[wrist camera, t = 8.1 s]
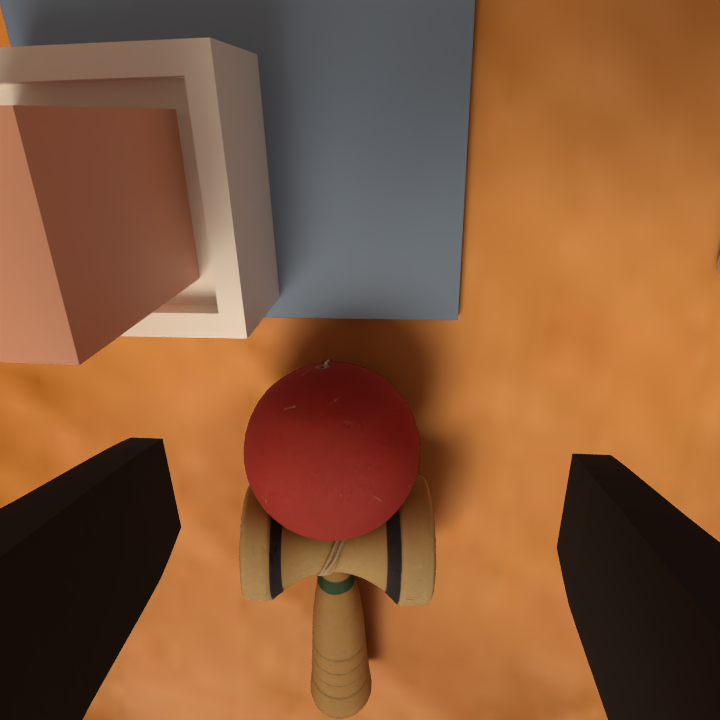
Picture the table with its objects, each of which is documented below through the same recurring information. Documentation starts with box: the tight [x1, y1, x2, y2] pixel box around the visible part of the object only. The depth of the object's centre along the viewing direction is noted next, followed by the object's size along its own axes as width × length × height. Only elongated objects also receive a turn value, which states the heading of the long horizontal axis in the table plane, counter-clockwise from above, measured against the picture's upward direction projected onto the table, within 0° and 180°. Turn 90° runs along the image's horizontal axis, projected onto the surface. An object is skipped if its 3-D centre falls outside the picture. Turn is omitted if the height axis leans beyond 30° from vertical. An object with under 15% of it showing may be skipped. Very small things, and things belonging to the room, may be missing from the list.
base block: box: [0, 37, 280, 338], centre depth 16 cm, size 8×8×4 cm
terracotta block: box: [0, 105, 200, 365], centre depth 12 cm, size 4×4×6 cm
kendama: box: [239, 360, 436, 719], centre depth 21 cm, size 8×6×18 cm
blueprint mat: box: [0, 0, 475, 320], centre depth 16 cm, size 14×17×1 cm
